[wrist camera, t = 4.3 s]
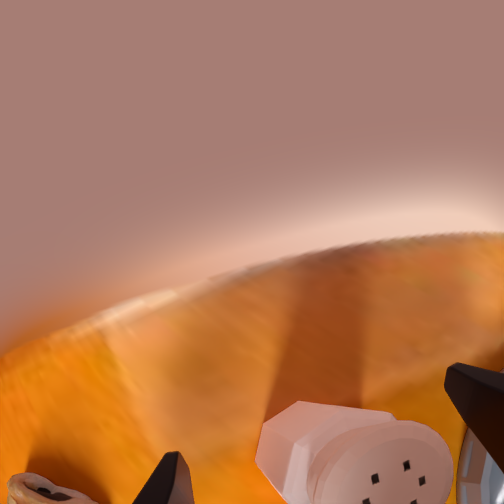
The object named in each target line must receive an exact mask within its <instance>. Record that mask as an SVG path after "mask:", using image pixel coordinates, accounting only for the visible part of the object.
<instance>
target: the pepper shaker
mask: <svg viewBox="0 0 504 504" xmlns="http://www.w3.org/2000/svg"><path fill="white" fill-rule="evenodd" d="M255 463H256V464H257V465H258V467H259V468H260V469H261V471H262V472H263V473H264V475H265V476H266V477H267V479H268V480H269V481H270V482H271V484H272V485H273V486H274V488H275V489H276V490H277V491H278V493H279V494H280V495H281V496H282V497H283V499H284V500H285V501H286V502H287V503H288V504H445V502H446V500H447V498H448V496H449V494H450V490H451V485H452V481H453V460H452V457H451V454H450V451H449V448H448V445H447V444H446V443H445V441H444V440H443V439H442V437H441V436H440V435H439V434H438V433H437V432H436V431H434V430H433V429H431V428H430V427H428V426H427V425H424V424H421V423H418V422H415V421H405V420H396V419H395V417H394V416H393V415H392V413H388V412H384V411H375V410H367V409H359V408H351V407H344V406H337V405H328V404H320V403H312V402H305V401H297V402H295V403H294V404H292V405H291V406H289V407H288V408H286V409H285V410H283V411H282V412H280V413H279V414H277V415H276V416H274V417H272V418H271V419H269V420H268V421H266V422H265V423H263V426H262V431H261V435H260V440H259V444H258V449H257V453H256V457H255Z"/></svg>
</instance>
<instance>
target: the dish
mask: <svg viewBox="0 0 504 504" xmlns="http://www.w3.org/2000/svg"><path fill="white" fill-rule="evenodd" d="M500 373H504V368H503V369H502V370H501V371H500ZM456 500H457V504H504V474H503V472H502V471H501V470H500V468H499V467H498V466H497V464H496V463H495V461H494V460H493V459H492V457H491V456H490V455H489V453H488V452H487V451H486V449H485V448H484V446H483V445H482V444H481V443H480V441H479V440H478V439H477V437H476V436H475V435H474V433H473V432H472V431H471V429H470V428H469V427H468V430H467V433H466V436H465V439H464V442H463V446H462V451H461V455H460V459H459V465H458V471H457V483H456Z"/></svg>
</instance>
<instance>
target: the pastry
mask: <svg viewBox="0 0 504 504" xmlns="http://www.w3.org/2000/svg"><path fill="white" fill-rule="evenodd" d="M7 487H8V490H9V493H8V498H7V504H99V503H98V502H95V501H92V500H91V499H90V497H88V496H87V495H85V494H83V493H81V492H78V491H76V490H71V489H68V488H65V487H60V486H56V485H54V484H53V483H52V482H51V481H49V480H48V479H46V478H44V477H43V476H40V475H38V474H35V473H20V474H16V475H13V476H12V477H11V478H10V480H9V481H8V482H7Z"/></svg>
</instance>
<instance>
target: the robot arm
mask: <svg viewBox="0 0 504 504" xmlns="http://www.w3.org/2000/svg"><path fill="white" fill-rule="evenodd" d="M444 388H445V391H446V393H447V394H448V396H449V397H450V399H451V401H452V402H453V404H454V405H455V407H456V409H457V410H458V412H459V414H460V415H461V417H462V418H463V420H464V421H465V423H466V424H467V425H468V427H469V428H470V429H471V431H472V432H473V433H474V435H475V436H476V437H477V439H478V440H479V441H480V443H481V444H482V445H483V446H484V448H485V449H486V451H487V452H488V453H489V455H490V456H491V457H492V459H493V460H494V461H495V463H496V464H497V466H498V467H499V468H500V470H501V471H502V472H503V474H504V373H500V372H496V371H491V370H487V369H483V368H479V367H475V366H470V365H466V364H462V363H455V364H453V365H451V366H449V367H448V368H447V371H446V377H445V382H444ZM132 504H194V498H193V491H192V484H191V477H190V471H189V467H188V465H187V463H186V462H185V460H184V458H183V456H182V455H181V453H180V452H178V451H174V452H167V453H165V455H164V456H163V458H162V459H161V461H160V462H159V464H158V465H157V467H156V468H155V470H154V472H153V473H152V475H151V476H150V478H149V479H148V481H147V482H146V484H145V485H144V487H143V488H142V490H141V491H140V493H139V494H138V496H137V497H136V499H135V500H134V502H133V503H132Z"/></svg>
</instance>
